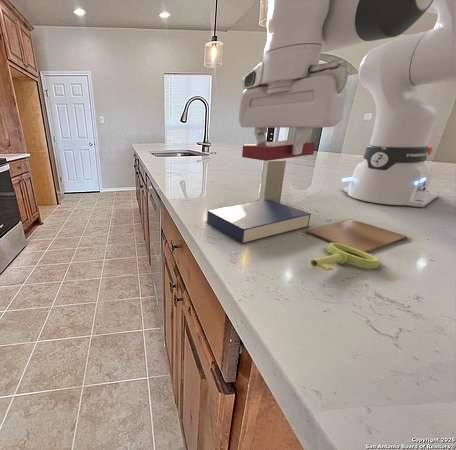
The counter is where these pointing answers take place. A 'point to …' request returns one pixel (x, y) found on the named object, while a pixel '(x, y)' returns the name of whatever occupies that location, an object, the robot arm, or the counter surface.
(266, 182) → the cosmetic box
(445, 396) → the counter surface
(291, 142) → the red rectangular block
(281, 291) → the counter surface
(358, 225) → the cork mat
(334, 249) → the key
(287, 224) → the hardback
